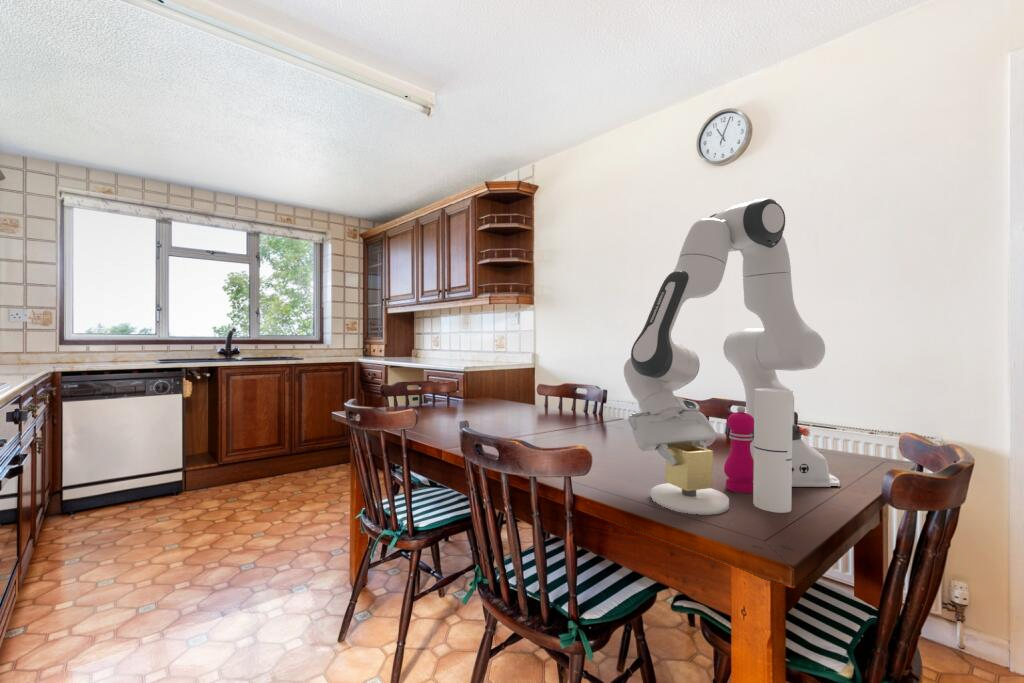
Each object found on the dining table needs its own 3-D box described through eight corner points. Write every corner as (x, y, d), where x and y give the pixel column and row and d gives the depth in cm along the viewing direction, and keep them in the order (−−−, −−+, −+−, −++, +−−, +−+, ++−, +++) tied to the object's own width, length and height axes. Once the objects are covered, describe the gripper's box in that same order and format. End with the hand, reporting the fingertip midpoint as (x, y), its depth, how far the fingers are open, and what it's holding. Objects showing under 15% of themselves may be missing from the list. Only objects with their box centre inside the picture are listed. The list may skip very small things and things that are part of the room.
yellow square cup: (665, 481, 104) (666, 446, 104) (689, 478, 106) (690, 444, 106) (687, 491, 97) (687, 453, 97) (712, 487, 100) (712, 450, 100)
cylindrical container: (746, 500, 102) (747, 388, 102) (777, 500, 103) (778, 388, 103) (766, 512, 95) (767, 392, 95) (799, 512, 96) (800, 392, 96)
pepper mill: (753, 486, 113) (754, 404, 113) (760, 495, 106) (761, 408, 106) (721, 483, 115) (722, 403, 115) (726, 492, 108) (727, 407, 108)
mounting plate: (717, 491, 108) (717, 459, 108) (739, 517, 93) (739, 480, 93) (646, 487, 111) (647, 456, 111) (656, 511, 95) (657, 475, 95)
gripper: (631, 405, 104) (658, 459, 95) (702, 402, 112) (734, 452, 103) (619, 421, 109) (644, 474, 100) (689, 418, 116) (718, 467, 107)
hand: (690, 463), depth 101 cm, fingers closed on yellow square cup, 7 cm apart
